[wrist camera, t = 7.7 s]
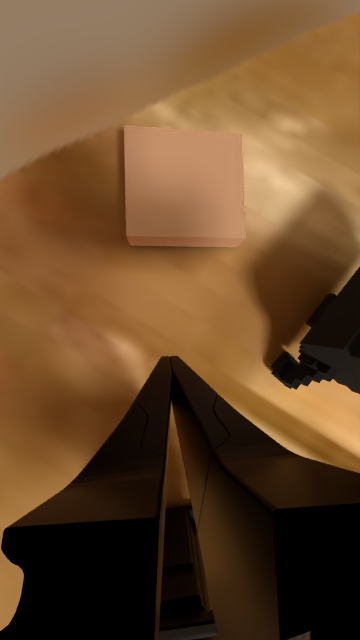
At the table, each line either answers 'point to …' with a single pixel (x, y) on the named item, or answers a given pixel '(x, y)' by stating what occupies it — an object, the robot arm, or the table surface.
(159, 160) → the tile
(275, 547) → the robot arm
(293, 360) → the security camera
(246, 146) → the table surface
